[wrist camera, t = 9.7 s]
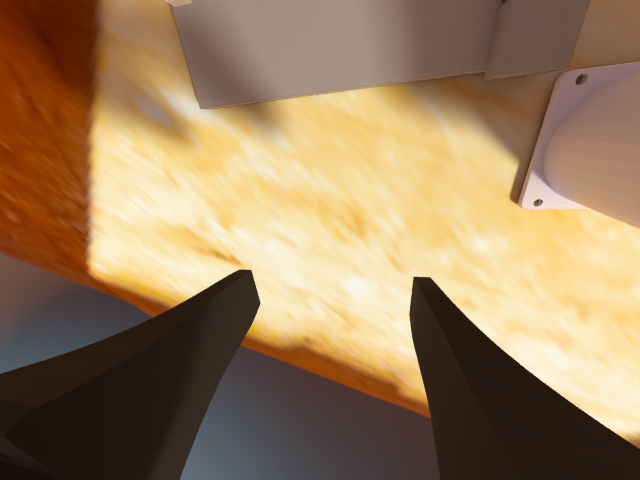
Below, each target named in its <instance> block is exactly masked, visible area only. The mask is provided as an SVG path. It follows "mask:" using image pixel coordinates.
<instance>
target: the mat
mask: <svg viewBox="0 0 640 480" xmlns="http://www.w3.org/2000/svg"><path fill="white" fill-rule="evenodd" d="M191 2H192V3H190V4H186V5H182V6H178V7H174V6H172V5H171V4H170V5H171V8H172V12H173V15H174V19H175V22H176V26H177V29H178V33H179V36H180V40H181V43H182V47H183V50H184V54H185V57H186V60H187V64H188V67H189V71H190V74H191V78H192V81H193V85H194V88H195V92H196V95H197V99H198V102H199V106H200V109H215V108H222V107H230V106H237V105H245V104H252V103H259V102H267V101H274V100H282V99H289V98H296V97H304V96H311V95H319V94H326V93H334V92H341V91H348V90H356V89H363V88H371V87H378V86H385V85H393V84H400V83H408V82H415V81H423V80H430V79H437V78H445V77H452V76H460V75H467V74H474V73H482V72H485V69H486V63H487V58H488V53H489V48H490V42H491V37H492V32H493V27H494V22H495V16H496V11H497V9H498V8H499V7H500V6H502V5H503V4H502V0H191Z"/></svg>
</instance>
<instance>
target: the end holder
mask: <svg viewBox="0 0 640 480" xmlns="http://www.w3.org/2000/svg"><path fill="white" fill-rule="evenodd" d="M164 1H165V2H167V3H169V4H171V5H172V6H174V7H178V6H182V5H186V4H190V3H192V2H191V0H164Z"/></svg>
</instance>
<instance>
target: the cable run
mask: <svg viewBox="0 0 640 480" xmlns="http://www.w3.org/2000/svg"><path fill="white" fill-rule="evenodd" d="M589 1H590V0H502V4H503V5H502V6H500V7H499V8H498V9H497V11H496V16H495V22H494V27H493V32H492V37H491V42H490V48H489V53H488V58H487V63H486V69H485V74H484V79H483V81H484V80H492V79H500V78H508V77H516V76H523V75H531V74H539V73H546V72H550V71H554V70H558V69H561V68H565V67H568V66H569V63H570V60H571V57H572V54H573V51H574V48H575V44H576V41H577V38H578V35H579V32H580V29H581V26H582V23H583V20H584V17H585V14H586V11H587V7H588V4H589Z"/></svg>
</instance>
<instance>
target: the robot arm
mask: <svg viewBox="0 0 640 480" xmlns="http://www.w3.org/2000/svg"><path fill="white" fill-rule="evenodd" d="M580 75H581V76H582V81H581V82H580V83H579V84H578V85H577V84H576V79H577V77H578V76H580ZM537 199H539V202H538V203H537V204H534V201H536V200H537ZM533 204H534V205H533ZM518 205H519V207H521V208H523V209H526V210H536V209H592V210H594V211H597V212H599V213H602V214H604V215H607V216H609V217H611V218H614V219H616V220H619V221H621V222H624V223H626V224H628V225H631V226H633V227H636V228H638V229H640V61H639V62H632V63H624V64H616V65H608V66H600V67H592V68H584V69H576V70H571V71H567V72H565V73H563V74H562V75H560V76H559V78H558V79H557V80H556V82H555V85H554V89H553V92H552V95H551V98H550V101H549V105H548V108H547V111H546V114H545V117H544V121H543V124H542V127H541V130H540V134H539V137H538V140H537V143H536V146H535V150H534V153H533V156H532V159H531V162H530V166H529V169H528V172H527V175H526V178H525V182H524V185H523V188H522V191H521V195H520V198H519V201H518ZM259 306H260V300H259V296H258V292H257V289H256V285H255V282H254V278H253V274H252V271H251V270H238V271H236V272H234V273H232V274H230V275H228V276H227V277H225V278H223V279H222V280H220V281H218V282H217V283H215V284H213V285H212V286H210V287H208V288H207V289H205V290H203V291H202V292H200V293H198V294H197V295H195V296H193V297H191V298H189V299H188V300H186V301H184V302H182V303H181V304H179V305H177V306H175V307H173V308H172V309H170V310H168V311H166V312H164V313H162V314H160V315H158V316H156V317H154V318H152V319H150V320H148V321H146V322H143V323H141V324H139V325H137V326H135V327H132V328H130V329H128V330H125V331H123V332H120V333H118V334H116V335H113V336H111V337H108V338H106V339H104V340H101V341H98V342H96V343H93V344H90V345H88V346H85V347H82V348H79V349H77V350H74V351H71V352H68V353H65V354H63V355H59V356H57V357H54V358H50V359H47V360H44V361H41V362H38V363H34V364H31V365H28V366H25V367H21V368H18V369H15V370H12V371H9V372H5V373H2V374H0V480H180V477H181V474H182V471H183V469H184V466H185V463H186V460H187V458H188V455H189V453H190V450H191V448H192V445H193V443H194V440H195V437H196V435H197V432H198V430H199V427H200V425H201V423H202V420H203V418H204V416H205V413H206V411H207V409H208V406H209V403H210V402H211V400H212V397H213V395H214V393H215V391H216V389H217V386H218V384H219V382H220V380H221V378H222V376H223V374H224V372H225V370H226V368H227V367H228V365H229V363H230V361H231V360H232V358H233V356H234V354H235V353H236V351H237V349H238V347H239V346H240V344H241V342H242V341H243V339H244V337H245V335H246V334H247V332H248V330H249V328H250V327H251V325H252V323H253V321H254V318H255V316H256V314H257V311H258V308H259ZM409 315H410V323H411V331H412V338H413V343H414V347H415V351H416V355H417V359H418V363H419V367H420V371H421V375H422V379H423V383H424V387H425V391H426V395H427V399H428V404H429V409H430V414H431V421H432V427H433V433H434V439H435V445H436V453H437V459H438V465H439V473H440V479H441V480H640V449H638V448H637V447H635V446H634V445H632V444H631V443H629V442H628V441H626V440H625V439H623V438H622V437H620V436H619V435H617V434H616V433H614V432H613V431H611V430H610V429H608V428H607V427H605V426H604V425H602V424H601V423H599V422H598V421H597V420H595V419H594V418H592V417H591V416H589V415H588V414H586V413H585V412H584V411H582V410H581V409H579V408H578V407H576V406H575V405H574V404H572V403H571V402H569V401H568V400H567V399H565V398H564V397H563V396H561V395H560V394H558V393H557V392H556V391H554V390H553V389H552V388H550V387H549V386H548V385H546V384H545V383H543V382H542V381H541V380H539V379H538V378H537V377H536V376H534V375H533V374H532V373H530V372H529V371H528V370H526V369H525V368H524V367H523V366H522V365H520V364H519V363H518V362H517V361H515V360H514V359H513V358H512V357H511V356H509V355H508V354H507V353H506V352H504V351H503V350H502V349H501V348H500V347H499V346H497V345H496V344H495V343H494V342H493V341H492V340H491V339H489V338H488V337H487V336H486V335H485V334H484V333H483V332H482V331H481V330H480V329H479V328H478V327H477V326H476V325H474V324H473V323H472V322H471V321H470V320H469V319H468V318H467V317H466V316H465V315H464V313H463V312H462V311H461V310H460V309H459V308H458V307H457V306H456V305H455V304H454V303H453V302H452V301H451V300H450V299H449V298H448V297H447V295H446V294H445V293H444V292H443V291H442V290H441V289H440V288H439V287H438V285H437V284H436V283H435V282H434V281H433V280H432V279H431V278H430V277H414V279H413V288H412V296H411V305H410V314H409Z"/></svg>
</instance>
